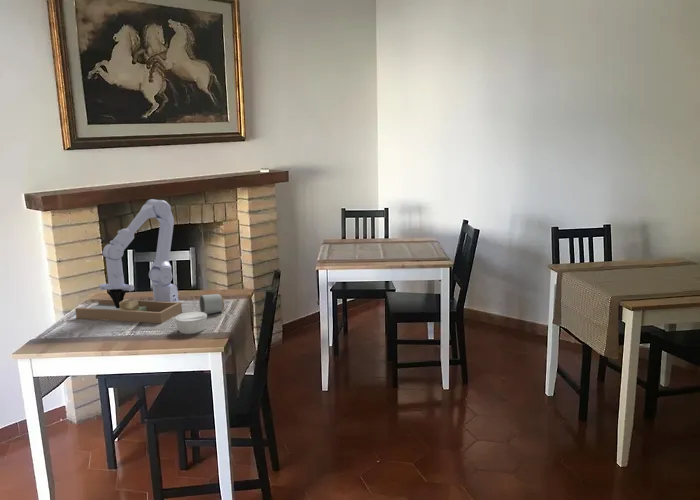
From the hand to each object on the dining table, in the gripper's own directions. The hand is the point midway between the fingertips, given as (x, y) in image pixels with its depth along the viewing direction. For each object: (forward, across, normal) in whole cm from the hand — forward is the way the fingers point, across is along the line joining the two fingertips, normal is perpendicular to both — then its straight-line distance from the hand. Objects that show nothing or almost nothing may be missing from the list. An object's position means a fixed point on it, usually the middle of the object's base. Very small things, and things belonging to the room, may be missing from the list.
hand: (119, 307), depth 231 cm
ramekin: (+3, +39, -12) cm, 41 cm away
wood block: (+1, +5, 0) cm, 5 cm away
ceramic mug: (+3, +35, +9) cm, 37 cm away
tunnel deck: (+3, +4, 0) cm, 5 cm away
